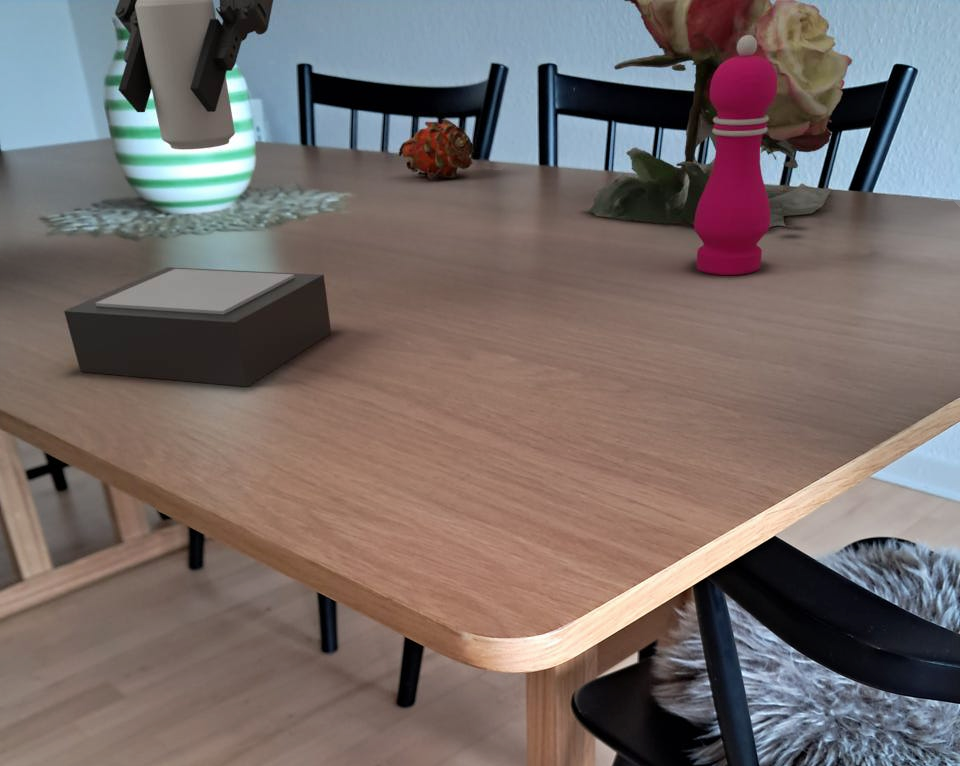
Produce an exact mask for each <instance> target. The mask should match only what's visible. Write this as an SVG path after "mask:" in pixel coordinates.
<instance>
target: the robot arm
mask: <svg viewBox="0 0 960 766" xmlns="http://www.w3.org/2000/svg"><path fill="white" fill-rule="evenodd" d="M136 2H137V0H119V1H118V3H117V5H116V8H115V11H114V15H115V16H116V17H117V19H118V20H119V22H120V23H121V25H123V27H124V28H125V29H126V31H127V32H128V33H129V37H128V40H127V44H126V48H125V50H124V53H123V61H124V62H125V66H124V68H123V69H124V70H123V73H122V76H121V80H120V83H119V86H118V91H119V93H120V94H121V95H122V96H123V97H124V99H125V100H126V101H127V102H128V104H129V105H131V107H132V108H133V109H134V111H136V113H146V110H147V105H148V103H149V99H150V96H151V92H152V88H151V83H150V78H149V73H148V68H147V63H146V59H145V54H144V49H143V44H142V39H141V34H140V29H139V24H138V19H137V14H136V9H135V5H136ZM273 5H274V0H219V6H218V7H215V12H216V13H217V14H218V15H219V17H220V18H221V20H222V22H221V21H220V20H219V19H218V18H216V19H210V22H209V25H208V29H207V32H206V36H205V39H204V43H203V46H202V49H201V53H200V56H199V60H198V63H197V67H196V70H195V73H194V77H193V80H192V84H191V87H190V89H191V90H192V92H193V93H194V94H195V96H196V97H197V98H198V100H199V101H200V102H201V104H202V105H203V106H204V108H205V109H206V110H207V112H215V111H216V107H217V104H218V100H219V97H220V93H221V90H222V86H223V83H224V79H225V76H226V75H227V72H228V71H229V72H232V70H233V69H234V67H235V66H236V63H237V59H238V56H239V52H240V49H241V45H242V42H244V41H245V40H246V39H247V37H248V36H249V34H251V33H253V32H255V34H257V35H263V34H266V32H267V31H268V29H269V25H270V21H271V20H270V19H271V14H272V9H273Z"/></svg>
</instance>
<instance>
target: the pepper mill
mask: <svg viewBox="0 0 960 766" xmlns="http://www.w3.org/2000/svg"><path fill="white" fill-rule="evenodd" d="M756 49H757V41H756V39H755V38H754V37H753V36H751V35H745V36H743V37H742V38H741V39H740V40H739V41H738V44H737V52H738V54H739V55H740V56H736V57H732V58H730V59H728V60H726V61H725V62H723V63H722V64H721V65H720V66H719V67H718V68H717V70H716V71H715V73H714V75H713V78H712V80H711V85H710V100H711V102H712V104H713V106H714V107H715V109H716V110H717V113H718V116H716V117H715V118H714V119H713V122H714V123H715V124H714V128H713V130H712V132H713V134H715V135H716V150H715V155H714V158H715V160H714V159H713V160H714V165H713V169H712V172H711V175H710V178H709V180H708V183H707V185H706V187H705V189H704V191H703V194H702V196H701V198H700V200H699V203H698V207H697V210H696V214H695V221H694V224H693V228H694V232H695V234H697V236H698V237H699V239H700V240H701V242H702V243H703V244H702V245H701V246H700V247H698V248H697V253H696V264H695V266H696V268H697V270H698V271H700V272H703V273H706V274H710V275H716V276H739V275H747V274H751V273H755V272H757V271H758V270H759V269H760V268H761V265H762V255H763V250H762V248H761V247H760V246H759V245H758V243H759V242H760V241H761V239H762V238H763V237H764V236H765V235H766V233H767V232H768V231H769V230H770V229H769V228H770V227H769V226H770V205H769V199H768V196H767V193H766V192H767V190H766V186H765V183H764V179H763V175H762V174H763V173H762V167H761V166H762V165H761V141H762V135H763V134H764V133H766V132H767V130H768V129H767V127H766V126H767V123H766V122H767V121H768V120H769V117H768V116H767V115H764V114H765V112H766V109H767V108H768V107H769V106H770V105H771V103H772V102H773V100H774V99H775V96H776V93H777V75H776V71H775V69H774V67H773V65H772V64H771V63H770V62H769V61H767V60H766V59H764V58H762V57H759V56H755V55H753V54H754V53H755V51H756Z"/></svg>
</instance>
